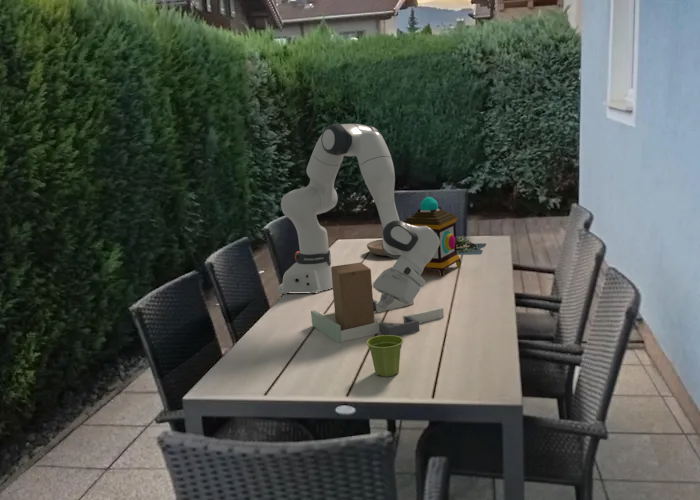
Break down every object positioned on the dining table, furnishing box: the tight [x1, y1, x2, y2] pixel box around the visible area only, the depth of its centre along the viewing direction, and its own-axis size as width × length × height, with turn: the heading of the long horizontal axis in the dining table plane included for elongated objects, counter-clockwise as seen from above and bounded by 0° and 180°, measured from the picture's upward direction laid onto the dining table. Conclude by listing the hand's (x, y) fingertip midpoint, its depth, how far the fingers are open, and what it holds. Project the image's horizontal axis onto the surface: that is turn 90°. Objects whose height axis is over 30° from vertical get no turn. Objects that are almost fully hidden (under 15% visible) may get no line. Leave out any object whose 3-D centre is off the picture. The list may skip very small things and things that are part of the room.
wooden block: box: [331, 262, 376, 331], centre depth 210 cm, size 10×10×20 cm
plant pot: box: [366, 334, 404, 378], centre depth 177 cm, size 9×9×9 cm
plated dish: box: [456, 235, 487, 256], centre depth 310 cm, size 35×28×7 cm
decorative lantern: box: [403, 196, 462, 277], centre depth 274 cm, size 20×20×30 cm
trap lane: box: [310, 298, 445, 344], centre depth 218 cm, size 37×19×5 cm, turn 116°
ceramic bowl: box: [366, 239, 389, 257], centre depth 312 cm, size 23×24×5 cm
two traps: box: [373, 299, 420, 337], centre depth 219 cm, size 10×31×3 cm, turn 26°
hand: (380, 307), depth 218 cm, fingers closed
